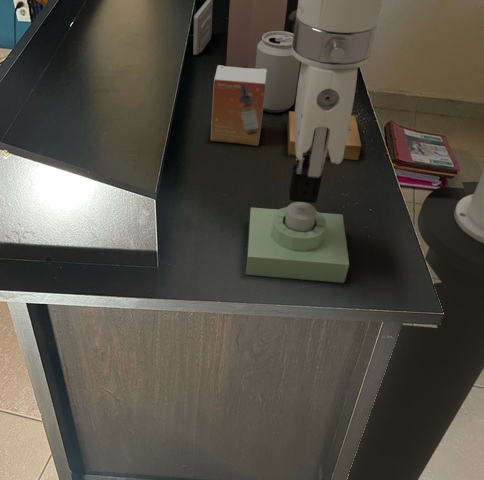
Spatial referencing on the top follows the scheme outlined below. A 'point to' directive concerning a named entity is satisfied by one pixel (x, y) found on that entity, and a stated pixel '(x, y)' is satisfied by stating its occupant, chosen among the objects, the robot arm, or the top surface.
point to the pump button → (300, 217)
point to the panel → (349, 153)
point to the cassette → (202, 27)
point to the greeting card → (251, 28)
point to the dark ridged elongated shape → (291, 22)
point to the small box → (238, 104)
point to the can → (278, 70)
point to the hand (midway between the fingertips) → (302, 197)
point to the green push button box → (296, 247)
